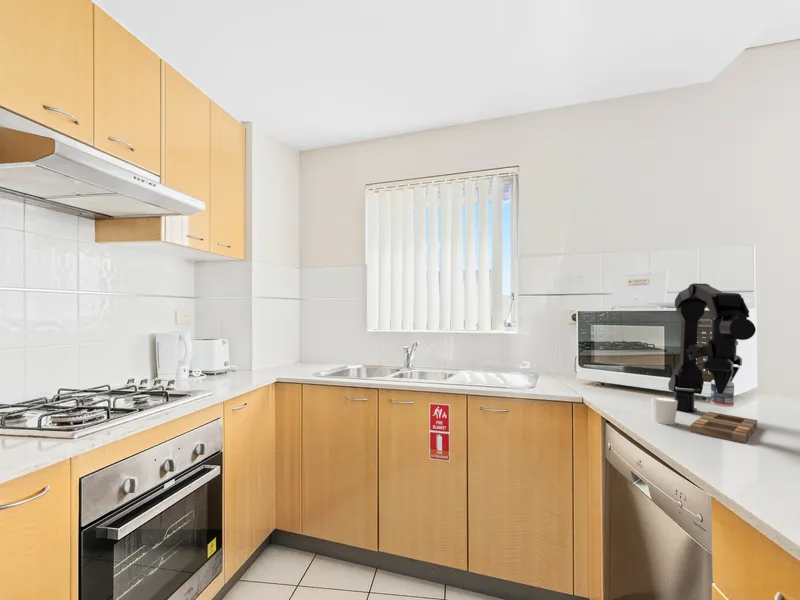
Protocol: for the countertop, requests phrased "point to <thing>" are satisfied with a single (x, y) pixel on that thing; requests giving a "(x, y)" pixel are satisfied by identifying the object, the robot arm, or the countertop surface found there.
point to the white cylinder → (664, 410)
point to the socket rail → (724, 426)
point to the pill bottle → (723, 395)
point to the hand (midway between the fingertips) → (721, 392)
